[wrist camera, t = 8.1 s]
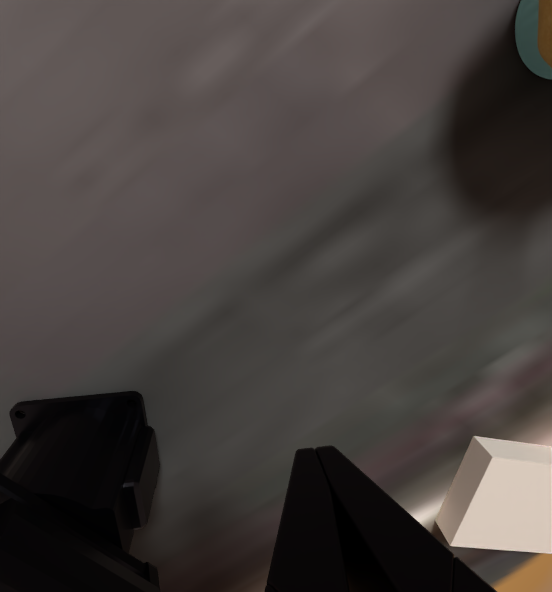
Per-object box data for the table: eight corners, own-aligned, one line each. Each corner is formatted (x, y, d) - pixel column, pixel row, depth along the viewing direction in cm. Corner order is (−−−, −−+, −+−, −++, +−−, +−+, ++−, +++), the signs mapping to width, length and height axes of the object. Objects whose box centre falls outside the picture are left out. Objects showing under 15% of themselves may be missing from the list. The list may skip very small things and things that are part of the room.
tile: (450, 546, 25) (578, 555, 27) (492, 456, 23) (627, 474, 25) (432, 515, 27) (552, 526, 29) (469, 431, 25) (595, 449, 27)
